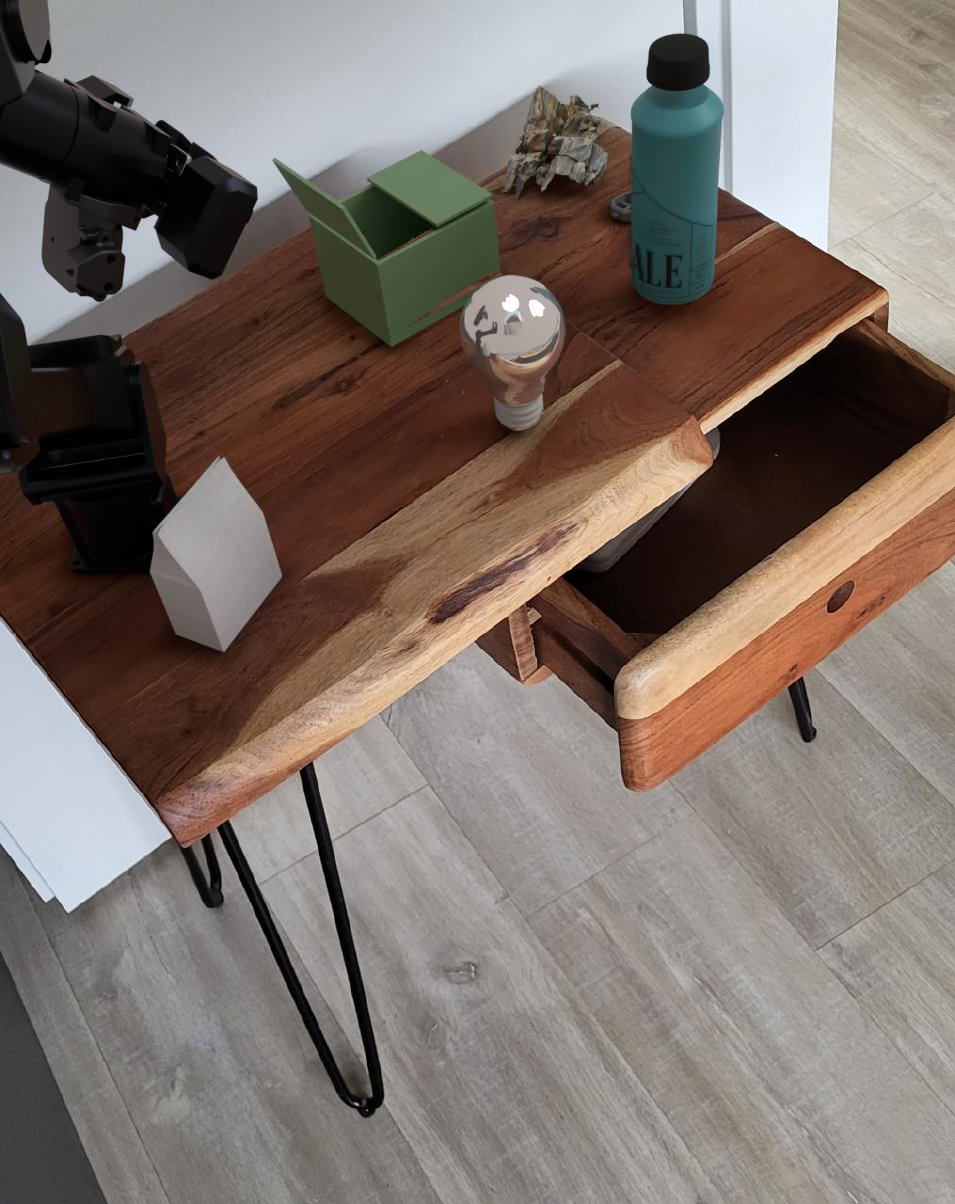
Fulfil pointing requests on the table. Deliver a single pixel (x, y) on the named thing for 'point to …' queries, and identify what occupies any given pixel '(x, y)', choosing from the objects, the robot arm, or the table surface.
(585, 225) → the table surface
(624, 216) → the key
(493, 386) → the light bulb
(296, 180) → the flap
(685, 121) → the beverage bottle
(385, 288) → the carton
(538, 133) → the rock
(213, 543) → the white milk carton
